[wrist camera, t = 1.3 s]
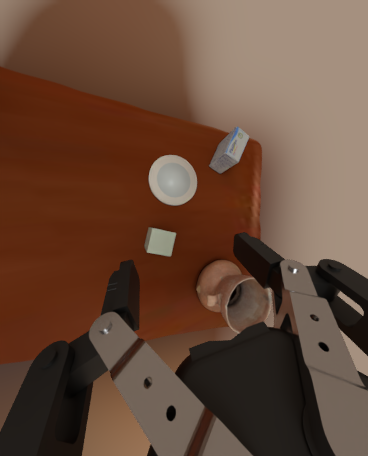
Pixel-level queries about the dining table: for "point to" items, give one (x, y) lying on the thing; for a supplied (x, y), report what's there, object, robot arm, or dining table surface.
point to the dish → (172, 180)
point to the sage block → (159, 241)
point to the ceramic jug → (233, 295)
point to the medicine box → (229, 150)
